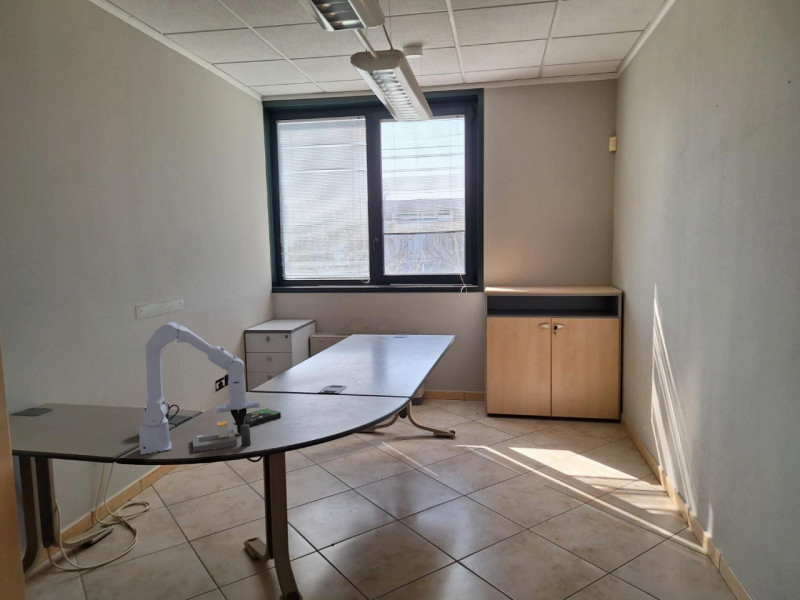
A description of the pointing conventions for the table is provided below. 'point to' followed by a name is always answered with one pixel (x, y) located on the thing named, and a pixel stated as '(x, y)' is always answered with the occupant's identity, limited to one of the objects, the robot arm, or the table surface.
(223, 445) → the breaker panel
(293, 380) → the table surface
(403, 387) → the table surface
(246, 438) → the post
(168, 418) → the coffee mug
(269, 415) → the disk drive
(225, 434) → the block
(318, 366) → the table surface
